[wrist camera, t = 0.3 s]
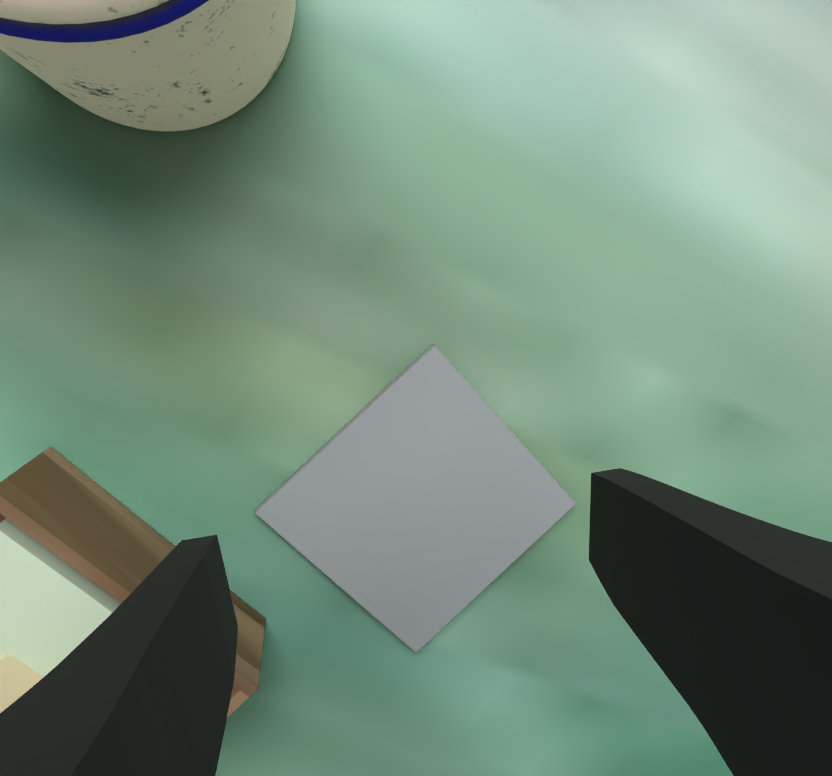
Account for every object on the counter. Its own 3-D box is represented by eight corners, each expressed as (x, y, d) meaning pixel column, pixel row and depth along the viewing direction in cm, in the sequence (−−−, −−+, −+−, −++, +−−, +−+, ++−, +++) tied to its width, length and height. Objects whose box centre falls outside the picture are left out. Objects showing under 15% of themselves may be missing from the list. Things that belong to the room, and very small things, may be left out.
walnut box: (77, 793, 22) (33, 898, 18) (-166, 647, 19) (-276, 737, 15) (265, 618, 22) (258, 688, 18) (50, 446, 19) (-9, 489, 15)
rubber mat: (414, 646, 23) (416, 653, 23) (255, 508, 21) (254, 513, 21) (571, 499, 23) (575, 503, 23) (432, 343, 21) (435, 345, 21)
